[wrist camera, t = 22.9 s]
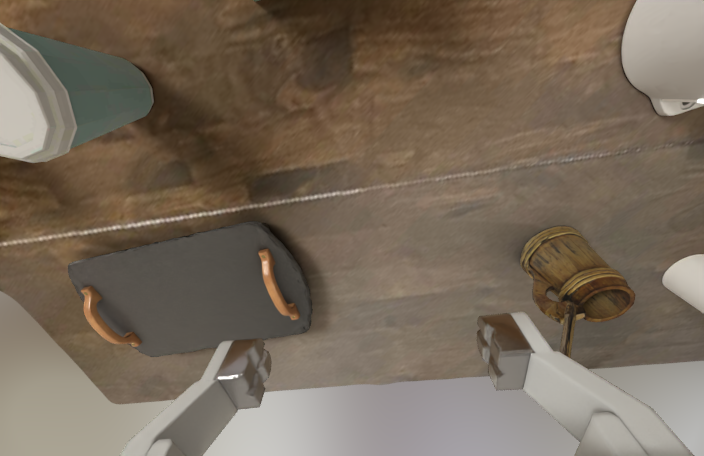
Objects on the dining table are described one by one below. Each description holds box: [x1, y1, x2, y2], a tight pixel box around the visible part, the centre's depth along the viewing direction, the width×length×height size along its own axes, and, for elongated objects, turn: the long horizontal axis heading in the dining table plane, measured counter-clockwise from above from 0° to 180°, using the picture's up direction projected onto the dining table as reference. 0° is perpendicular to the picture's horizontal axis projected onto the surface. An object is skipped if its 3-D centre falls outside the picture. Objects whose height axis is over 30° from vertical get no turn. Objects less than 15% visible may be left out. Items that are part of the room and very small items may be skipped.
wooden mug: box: [520, 226, 635, 358], centre depth 35 cm, size 9×14×18 cm, turn 109°
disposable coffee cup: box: [0, 23, 154, 163], centre depth 27 cm, size 11×11×15 cm
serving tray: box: [68, 221, 312, 357], centre depth 45 cm, size 39×23×6 cm, turn 104°
